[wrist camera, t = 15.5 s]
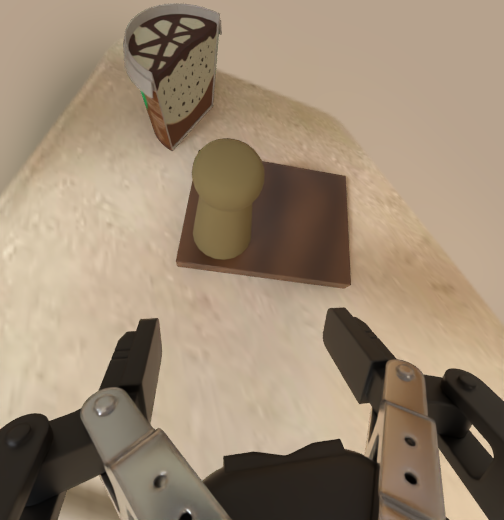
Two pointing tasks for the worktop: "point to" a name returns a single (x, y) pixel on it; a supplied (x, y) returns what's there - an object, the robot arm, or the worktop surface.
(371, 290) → the worktop surface
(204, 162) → the cork
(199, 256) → the cutting board
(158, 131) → the food container
